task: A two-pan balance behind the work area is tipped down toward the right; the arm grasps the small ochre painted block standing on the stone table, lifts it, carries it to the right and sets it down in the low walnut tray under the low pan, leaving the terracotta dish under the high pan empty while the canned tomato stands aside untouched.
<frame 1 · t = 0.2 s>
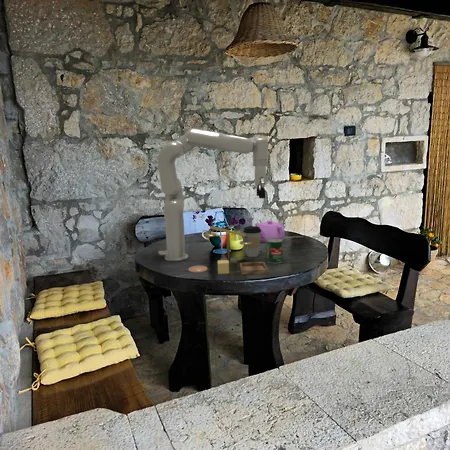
hand: (260, 197, 207), 31 cm above the table, tool pointing down, fingers open, 9 cm apart
ochre block: (223, 272, 187), on the table
terracotta dish: (197, 269, 192), on the table
canned tomato: (274, 261, 202), on the table
teakettle: (268, 240, 245), on the table
walnut tray: (253, 270, 189), on the table
coffee cup: (252, 255, 213), on the table
balance: (228, 261, 203), on the table
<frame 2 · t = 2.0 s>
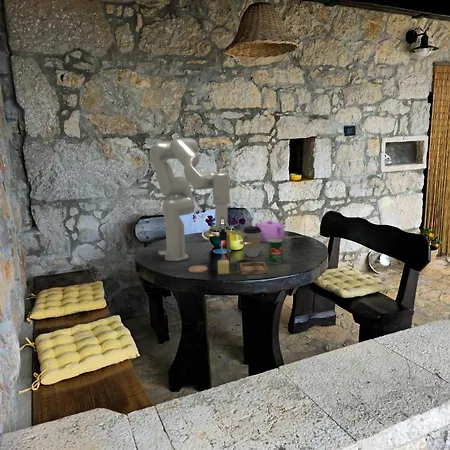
hand: (222, 238, 184), 16 cm above the table, tool pointing down, fingers open, 9 cm apart
nothing on the table moved.
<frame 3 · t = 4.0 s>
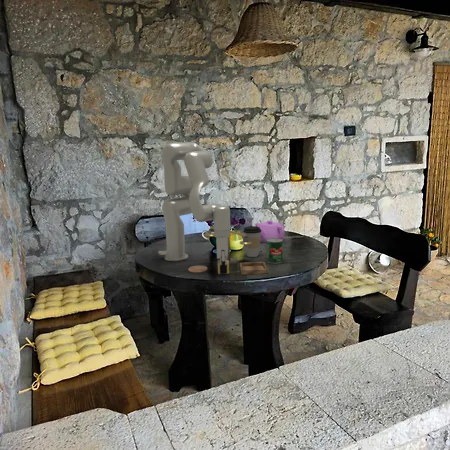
hand: (223, 270, 187), 0 cm above the table, tool pointing down, fingers closed on ochre block, 5 cm apart
ochre block: (223, 272, 187), on the table, touching gripper
everything else where it was.
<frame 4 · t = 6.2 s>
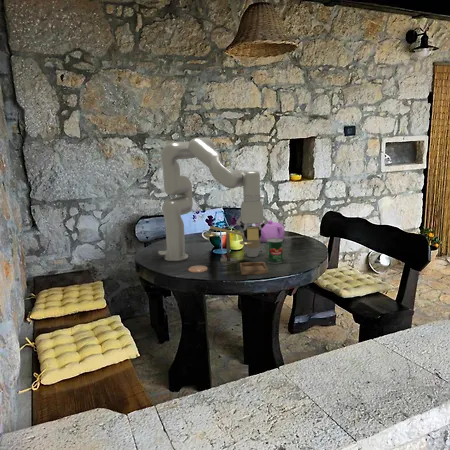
hand: (252, 237, 185), 16 cm above the table, tool pointing down, fingers closed on ochre block, 5 cm apart
ochre block: (252, 238, 185), point 15 cm above the table, touching gripper
everything else where it was.
when the fingers open (3 cm above the table, at t = 8.5 s): ochre block drops 2 cm, resting on walnut tray.
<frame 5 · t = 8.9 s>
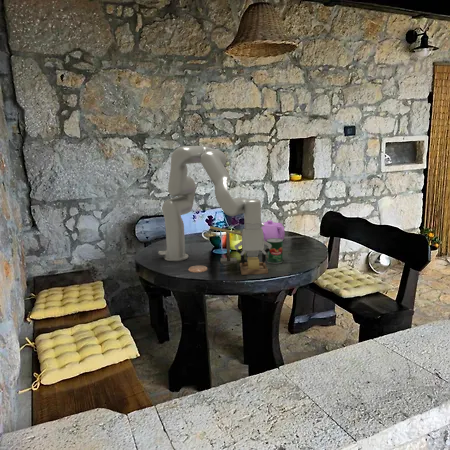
hand: (253, 262, 188), 4 cm above the table, tool pointing down, fingers open, 9 cm apart
ochre block: (253, 269, 188), resting on walnut tray
everything else where it was.
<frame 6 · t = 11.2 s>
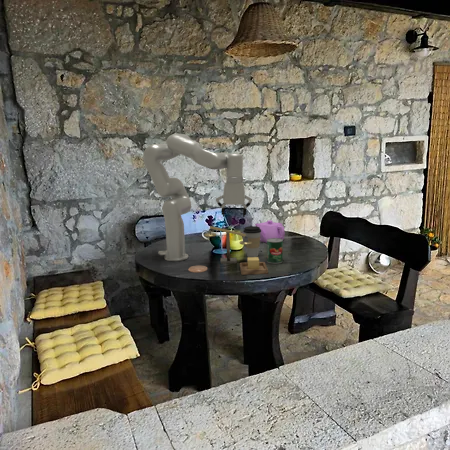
hand: (233, 216, 193), 24 cm above the table, tool pointing down, fingers open, 9 cm apart
nothing on the table moved.
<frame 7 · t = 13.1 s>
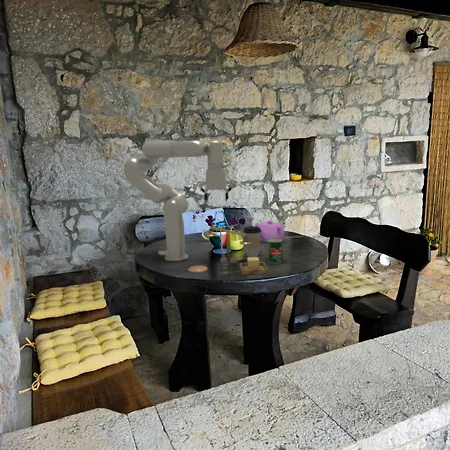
hand: (216, 201, 201), 30 cm above the table, tool pointing down, fingers open, 9 cm apart
nothing on the table moved.
at the end: ochre block inside the target area on the walnut tray (0.0 cm from its centre), point 0.5 cm above the walnut tray's base; ochre block tilted 0°; ochre block touching walnut tray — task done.
